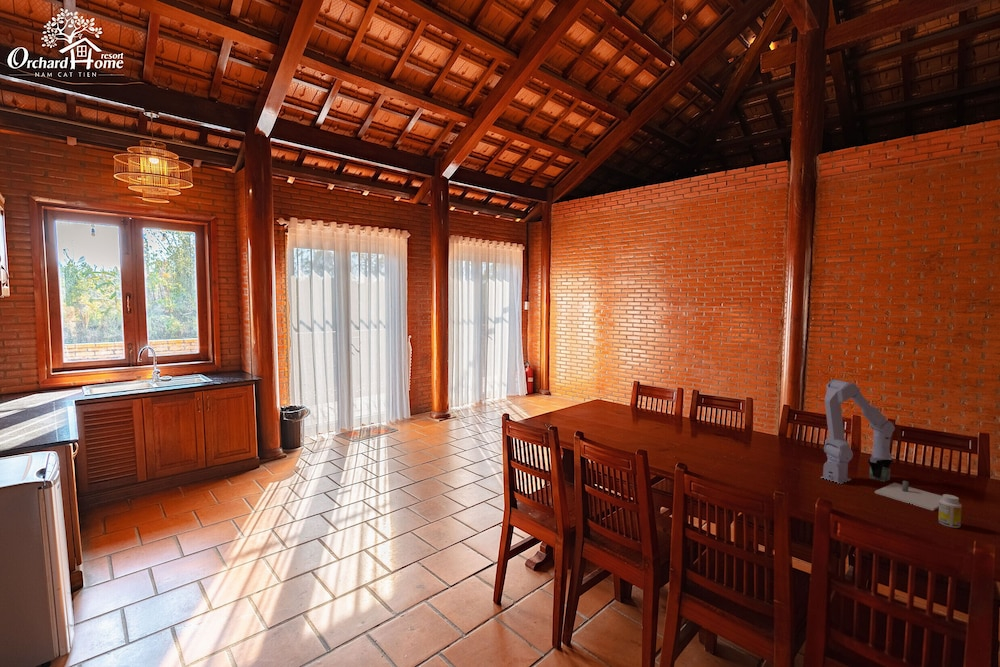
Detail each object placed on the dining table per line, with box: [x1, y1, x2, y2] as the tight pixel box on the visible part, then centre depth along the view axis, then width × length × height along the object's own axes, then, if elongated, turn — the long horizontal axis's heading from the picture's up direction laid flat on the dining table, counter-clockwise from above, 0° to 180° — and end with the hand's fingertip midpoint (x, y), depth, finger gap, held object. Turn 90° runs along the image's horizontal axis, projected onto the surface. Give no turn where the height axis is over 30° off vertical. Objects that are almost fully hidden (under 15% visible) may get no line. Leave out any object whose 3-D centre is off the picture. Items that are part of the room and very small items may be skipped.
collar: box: [868, 466, 891, 483], centre depth 196 cm, size 5×5×5 cm
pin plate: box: [874, 480, 943, 511], centre depth 178 cm, size 18×18×5 cm
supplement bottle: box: [938, 493, 963, 529], centre depth 155 cm, size 6×6×10 cm
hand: (879, 475), depth 197 cm, fingers closed on collar, 5 cm apart
